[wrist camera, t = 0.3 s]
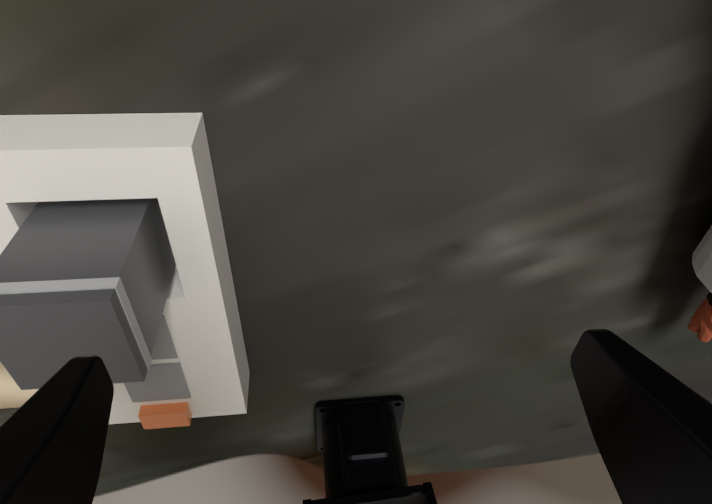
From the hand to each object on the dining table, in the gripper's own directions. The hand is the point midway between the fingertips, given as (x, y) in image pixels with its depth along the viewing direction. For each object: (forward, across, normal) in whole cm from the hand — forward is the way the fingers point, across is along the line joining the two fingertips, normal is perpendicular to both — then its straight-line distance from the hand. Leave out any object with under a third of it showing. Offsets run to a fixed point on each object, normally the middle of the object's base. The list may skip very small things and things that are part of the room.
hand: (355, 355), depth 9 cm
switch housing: (+14, +9, +10) cm, 20 cm away
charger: (+13, +9, +6) cm, 17 cm away
